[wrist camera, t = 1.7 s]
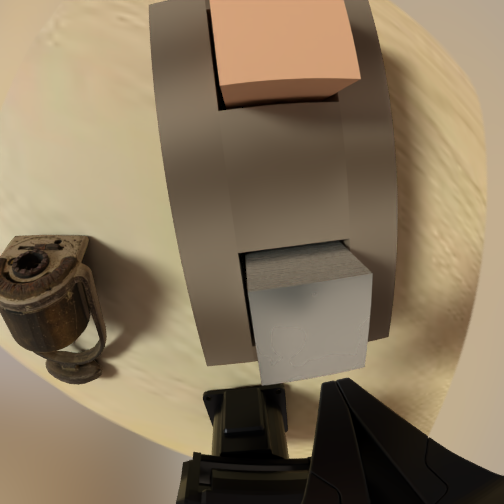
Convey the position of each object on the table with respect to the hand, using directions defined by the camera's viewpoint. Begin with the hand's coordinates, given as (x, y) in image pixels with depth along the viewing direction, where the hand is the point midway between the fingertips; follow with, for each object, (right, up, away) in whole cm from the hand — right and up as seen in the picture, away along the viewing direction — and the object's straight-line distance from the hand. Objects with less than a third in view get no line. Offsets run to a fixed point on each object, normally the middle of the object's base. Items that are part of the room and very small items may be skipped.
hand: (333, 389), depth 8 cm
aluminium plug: (0, +3, +7) cm, 8 cm away
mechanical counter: (-17, 0, +11) cm, 20 cm away
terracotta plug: (-2, +13, +4) cm, 13 cm away
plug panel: (-1, +9, +9) cm, 12 cm away
